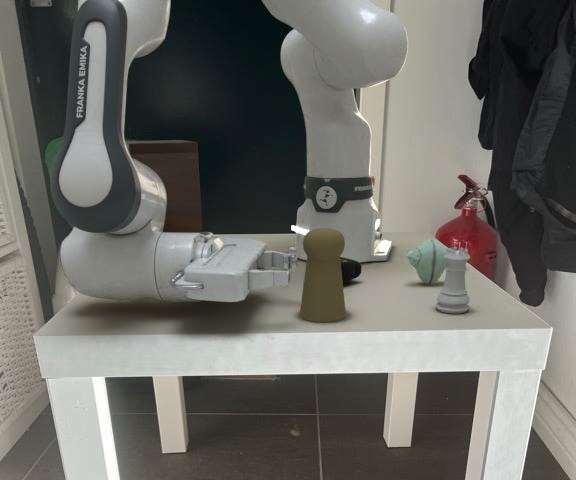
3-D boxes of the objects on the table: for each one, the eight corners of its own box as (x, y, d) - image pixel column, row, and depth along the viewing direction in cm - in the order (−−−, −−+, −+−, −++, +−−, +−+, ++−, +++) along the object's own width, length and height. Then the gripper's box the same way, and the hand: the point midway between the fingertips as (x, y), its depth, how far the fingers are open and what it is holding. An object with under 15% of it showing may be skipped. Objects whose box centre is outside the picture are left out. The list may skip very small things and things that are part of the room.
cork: (307, 323, 80) (307, 234, 76) (294, 310, 86) (293, 226, 81) (352, 319, 82) (355, 232, 77) (336, 307, 87) (338, 224, 83)
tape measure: (363, 282, 100) (364, 258, 99) (334, 290, 96) (335, 265, 94) (330, 275, 104) (330, 252, 103) (301, 282, 100) (301, 258, 98)
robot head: (406, 287, 97) (408, 242, 94) (399, 281, 100) (402, 237, 98) (458, 286, 97) (462, 241, 95) (449, 280, 101) (453, 236, 98)
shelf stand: (132, 269, 109) (119, 141, 101) (190, 265, 113) (182, 140, 105) (142, 284, 100) (128, 143, 92) (205, 278, 103) (197, 142, 95)
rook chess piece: (433, 304, 88) (438, 245, 85) (466, 305, 87) (472, 246, 84) (437, 314, 84) (442, 252, 81) (472, 314, 83) (478, 253, 80)
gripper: (161, 259, 73) (282, 261, 71) (204, 229, 91) (301, 230, 90) (165, 313, 75) (283, 316, 73) (206, 273, 94) (301, 275, 92)
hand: (293, 269), depth 82 cm, fingers open, 8 cm apart
